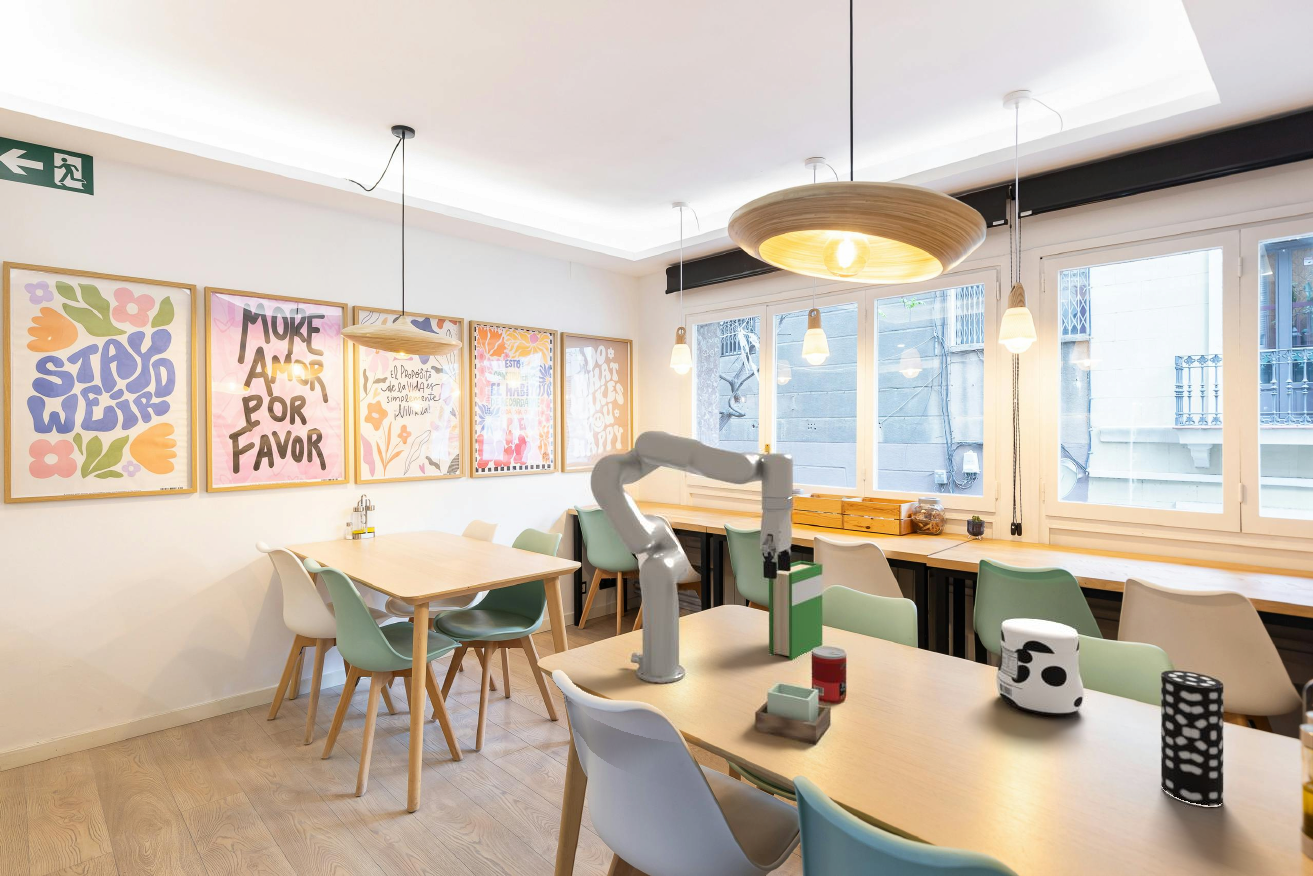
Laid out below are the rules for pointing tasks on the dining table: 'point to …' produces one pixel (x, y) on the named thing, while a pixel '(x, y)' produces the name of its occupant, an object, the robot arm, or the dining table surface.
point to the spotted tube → (1192, 737)
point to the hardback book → (795, 610)
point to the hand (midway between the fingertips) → (777, 574)
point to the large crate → (793, 725)
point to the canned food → (829, 673)
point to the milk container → (1040, 667)
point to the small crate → (793, 702)
